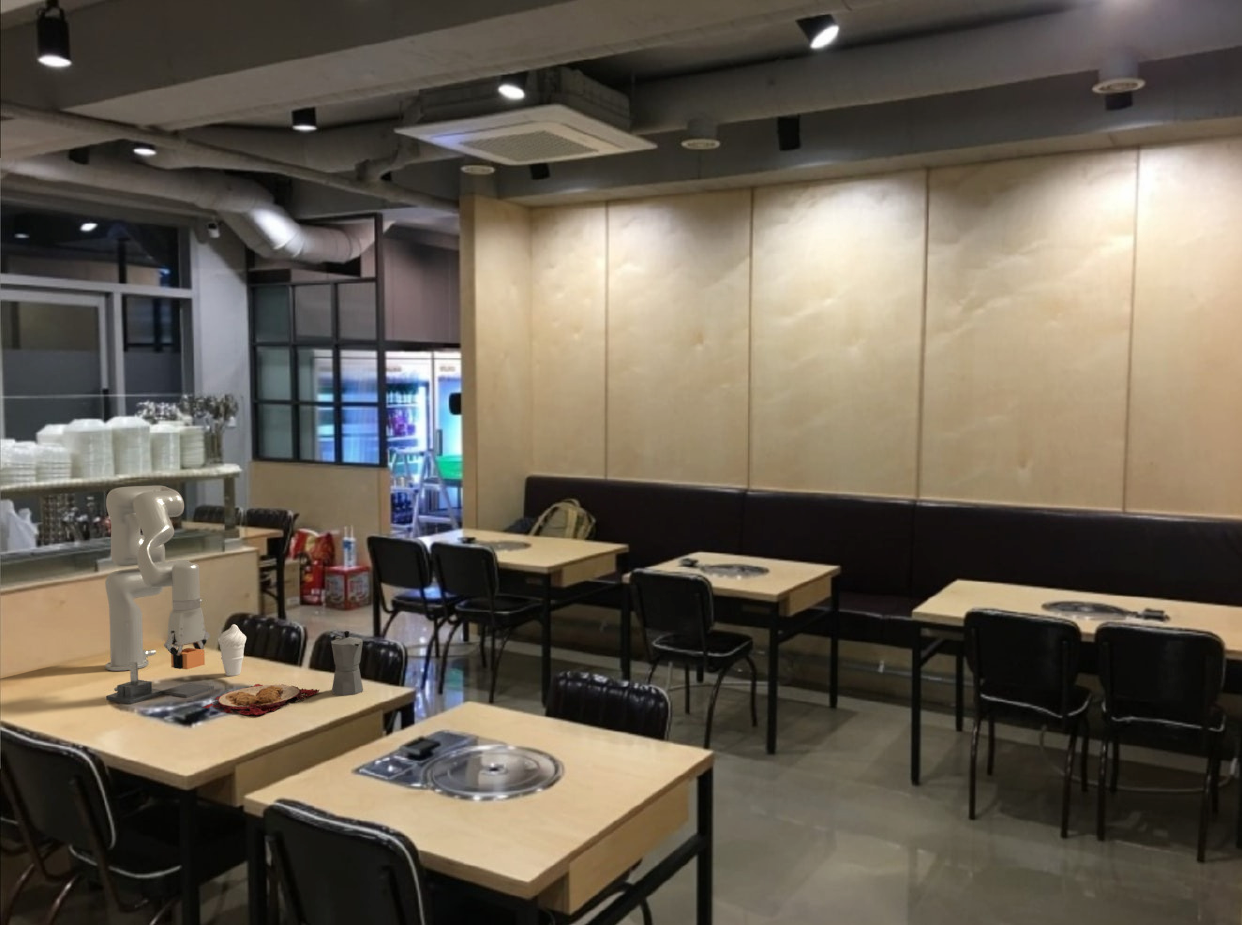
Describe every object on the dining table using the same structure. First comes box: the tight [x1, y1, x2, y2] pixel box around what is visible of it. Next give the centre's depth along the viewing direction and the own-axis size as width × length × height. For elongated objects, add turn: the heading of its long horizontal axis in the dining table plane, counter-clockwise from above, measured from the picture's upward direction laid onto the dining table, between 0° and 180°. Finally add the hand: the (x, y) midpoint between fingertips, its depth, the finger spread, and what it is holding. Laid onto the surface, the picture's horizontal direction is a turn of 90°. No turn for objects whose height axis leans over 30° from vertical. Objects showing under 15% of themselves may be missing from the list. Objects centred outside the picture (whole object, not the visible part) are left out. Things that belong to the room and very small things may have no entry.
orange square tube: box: [170, 647, 206, 670], centre depth 295 cm, size 6×6×4 cm
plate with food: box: [202, 683, 320, 716], centre depth 286 cm, size 24×26×4 cm
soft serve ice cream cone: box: [217, 624, 247, 677], centre depth 315 cm, size 8×8×16 cm
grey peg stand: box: [105, 662, 164, 705], centre depth 289 cm, size 11×10×10 cm
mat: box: [163, 682, 215, 698], centre depth 296 cm, size 10×10×1 cm
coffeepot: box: [330, 630, 364, 696], centre depth 296 cm, size 15×9×18 cm, turn 44°
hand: (188, 665), depth 295 cm, fingers closed on orange square tube, 6 cm apart
